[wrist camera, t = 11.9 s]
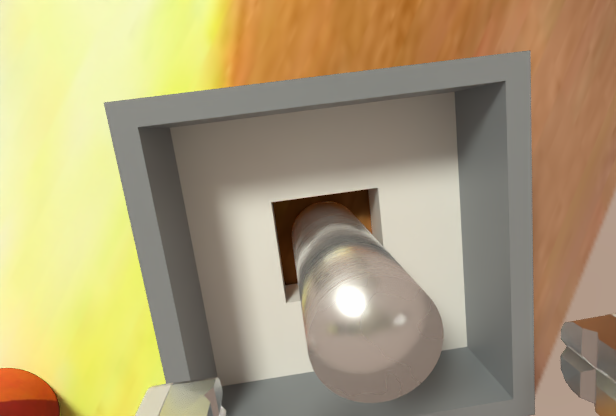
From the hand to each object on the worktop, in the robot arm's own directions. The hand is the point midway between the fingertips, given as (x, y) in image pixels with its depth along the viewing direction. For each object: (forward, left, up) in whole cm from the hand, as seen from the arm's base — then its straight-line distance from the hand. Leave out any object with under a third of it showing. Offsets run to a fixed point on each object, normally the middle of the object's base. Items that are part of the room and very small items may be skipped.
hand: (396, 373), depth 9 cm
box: (0, 0, -14) cm, 14 cm away
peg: (0, 0, -14) cm, 14 cm away
